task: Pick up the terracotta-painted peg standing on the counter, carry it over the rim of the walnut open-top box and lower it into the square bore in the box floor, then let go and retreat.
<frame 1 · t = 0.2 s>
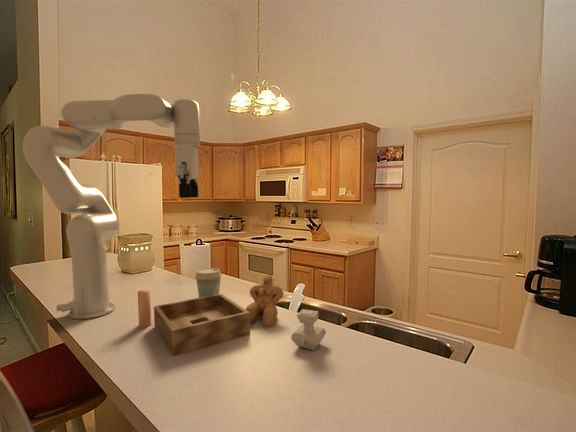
hand: (189, 197, 100), 37 cm above the worktop, tool pointing down, fingers open, 9 cm apart
peg: (145, 325, 92), on the worktop
figurine: (263, 320, 96), on the worktop
coffee cup: (209, 306, 108), on the worktop
stamp: (308, 346, 79), on the worktop
bore box: (200, 330, 88), on the worktop
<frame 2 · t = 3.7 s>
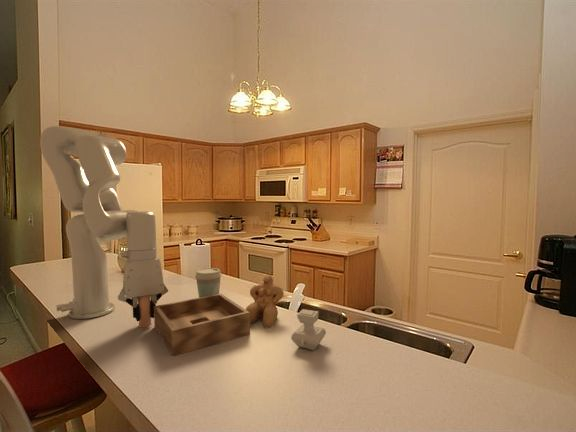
hand: (144, 317, 92), 2 cm above the worktop, tool pointing down, fingers closed on peg, 3 cm apart
peg: (145, 325, 92), on the worktop, touching gripper
everything else where it was.
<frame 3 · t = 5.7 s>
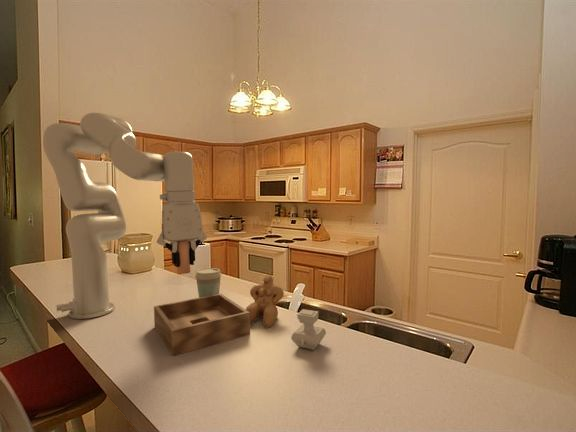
hand: (184, 264, 88), 18 cm above the worktop, tool pointing down, fingers closed on peg, 3 cm apart
peg: (184, 272, 88), point 16 cm above the worktop, touching gripper
everything else where it was.
when the fingers open (4 cm above the worktop, at t = 7.9 s): peg drops 2 cm, resting in bore box.
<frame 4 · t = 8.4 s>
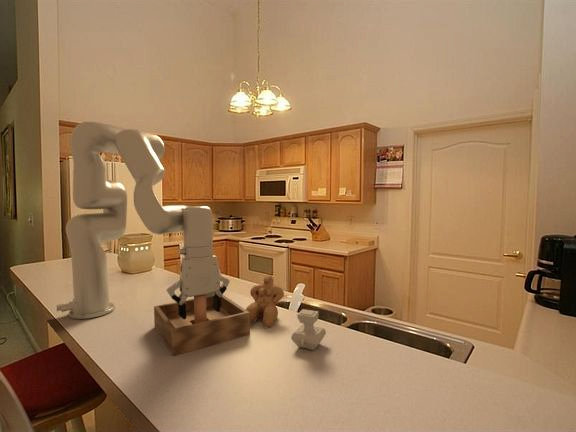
hand: (200, 313, 88), 5 cm above the worktop, tool pointing down, fingers open, 9 cm apart
peg: (200, 330, 88), resting in bore box
everything else where it was.
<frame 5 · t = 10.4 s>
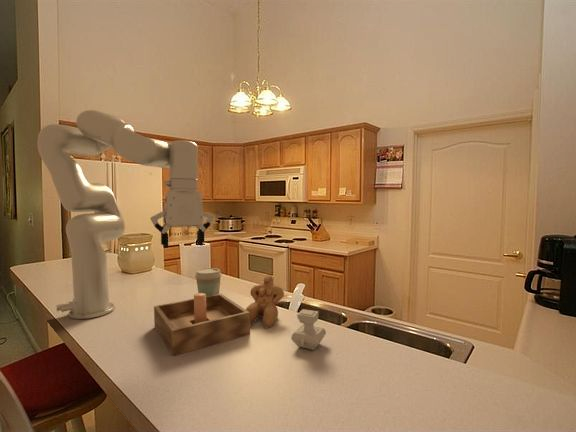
hand: (183, 245, 91), 23 cm above the worktop, tool pointing down, fingers open, 9 cm apart
nothing on the worktop moved.
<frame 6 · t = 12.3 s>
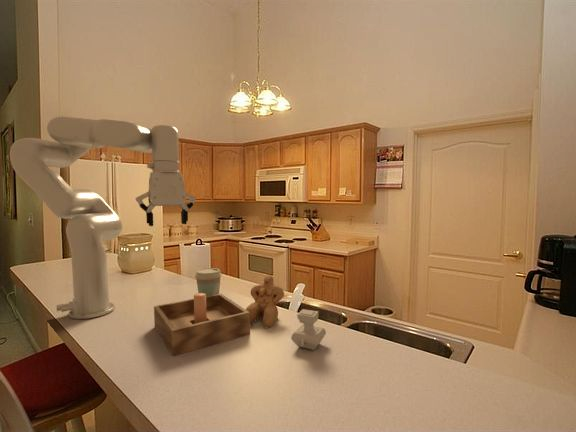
hand: (167, 224, 97), 28 cm above the worktop, tool pointing down, fingers open, 9 cm apart
nothing on the worktop moved.
at the end: peg 0.0 cm off-centre on the bore box, point 0.0 cm above the bore box's base; peg tilted 0°; the gripper is holding nothing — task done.
